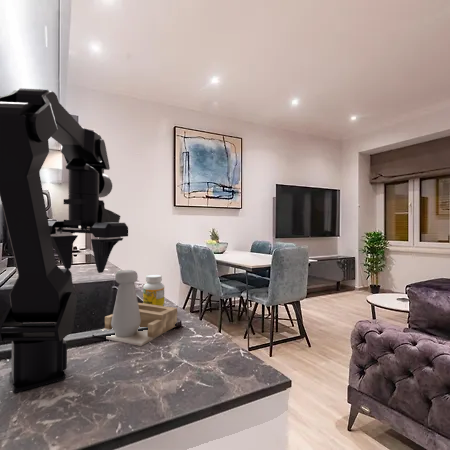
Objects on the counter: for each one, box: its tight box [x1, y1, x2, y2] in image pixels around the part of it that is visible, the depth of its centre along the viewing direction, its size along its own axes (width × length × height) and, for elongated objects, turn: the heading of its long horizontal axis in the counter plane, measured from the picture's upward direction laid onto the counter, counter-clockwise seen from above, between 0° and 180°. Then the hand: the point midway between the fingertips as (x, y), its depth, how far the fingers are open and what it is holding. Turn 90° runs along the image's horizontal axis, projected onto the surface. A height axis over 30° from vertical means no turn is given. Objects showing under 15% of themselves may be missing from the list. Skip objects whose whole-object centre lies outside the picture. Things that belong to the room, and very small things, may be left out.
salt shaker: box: [111, 269, 141, 338], centre depth 64 cm, size 6×6×13 cm
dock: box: [101, 302, 178, 347], centre depth 67 cm, size 13×12×4 cm
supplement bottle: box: [142, 274, 165, 306], centre depth 81 cm, size 5×5×10 cm
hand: (83, 270), depth 64 cm, fingers open, 9 cm apart
